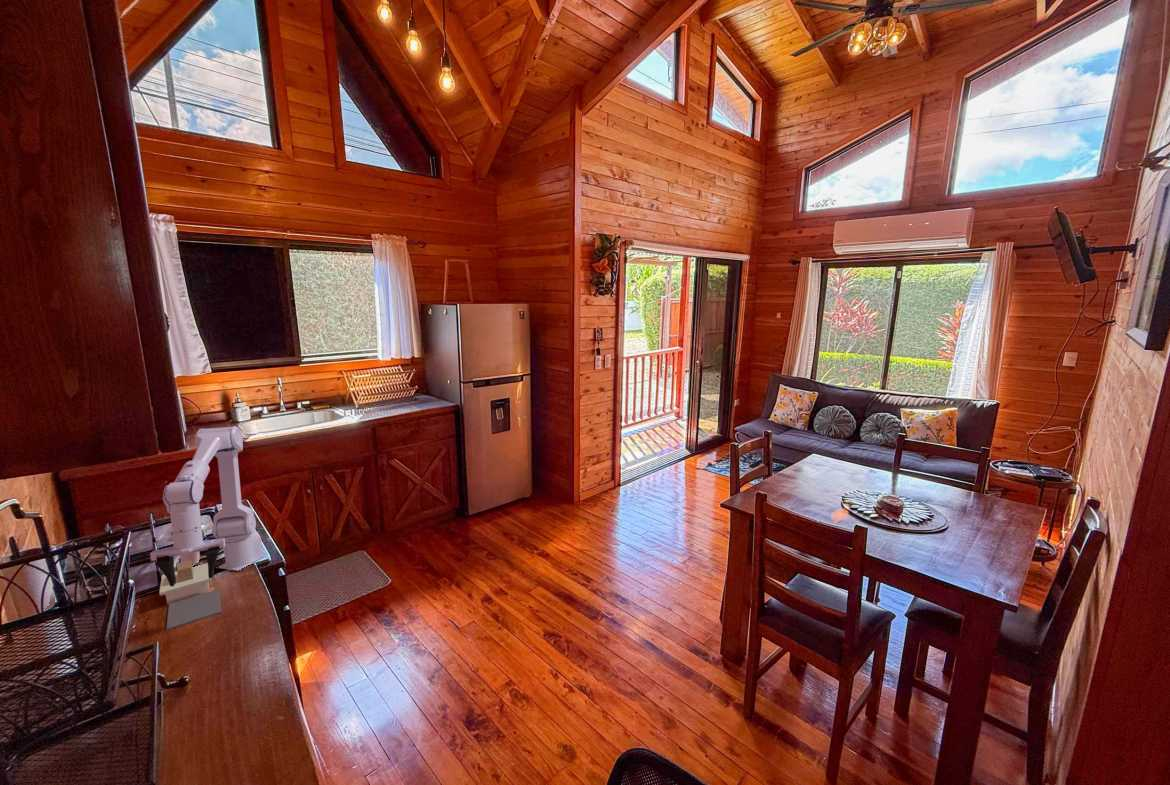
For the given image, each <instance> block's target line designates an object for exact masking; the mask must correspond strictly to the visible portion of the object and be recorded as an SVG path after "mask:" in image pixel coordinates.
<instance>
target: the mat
mask: <svg viewBox="0 0 1170 785" xmlns="http://www.w3.org/2000/svg"><path fill="white" fill-rule="evenodd" d="M167 610H168V611H167V619H166V620H167V621H166V631H169V630H172V629H175V628H178V627H182V626H185V625H188V624H192V623H193V622H197V621H200V620H203V619H207V618H209V617H212V616H215V615H218V614H221V613H222V598H221V588H218V589H215V590H212V591H209V592H207V593H204V594H200V595H197V596H194V597H190V598H187V599H184V600H180V601H177V602H173V603H170V604H168V609H167Z"/></svg>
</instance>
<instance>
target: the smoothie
mask: <svg viewBox="0 0 1170 785" xmlns="http://www.w3.org/2000/svg"><path fill="white" fill-rule="evenodd" d="M178 556H179V558H180V561H181V562H180V563H182V562H185V561H189V560H192V566H194V565H195V564H196V563H198V562H199V560H200V551H198V552H193V553H188V554H182V555H178Z"/></svg>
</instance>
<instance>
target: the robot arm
mask: <svg viewBox="0 0 1170 785" xmlns="http://www.w3.org/2000/svg"><path fill="white" fill-rule="evenodd" d="M194 441H195V445H196V449H195V452H194V455H193V457H192V460H191V459H190V460H188V461H187V462H185V463H184V464H183V466H182V468H181V470H180V472H179V473H178V474H177V476H176V478H175V480H174V481H173V482H170V483H169V484H168V485H167V484H166V486H165V487H164V489H163V493H162V501H163V504H164V505H165V506H166V512H167V513H168V514H170V515H169V516H170V522H171V524H170V525H171V532H172V542H173V545H172V546H169V547H168V546H167V547H165V548H161V549H156V550H152V551H151V552H150V554H149V555H150V561H151V562H153V561H156V563H155V565H156V568H158V569H159V570H161V572H162V573H163V575H165V576H166V578H167V579H168V582H169V584H170V587H171V586H174V585H175V583H176V578H175V572H176V571H175V564H174V563H175V560H174V559H175V556H179V555H182V554H188V553H193V552H198V551H199V552H203V551H206V552H205V557H206V561H207V562H206V563H208V576H209V579H210V578H212V579H213V578H214V575H215V568H216V567H215V566H216V563H217V562H216V561H217V559H218V556H219V553H220V551H221V549H222V550H223V555H224V561H225V563H222V564H220V565H219V566H218V569H221V570H229V571H236V572H240V571H242V570H243V569H245V568H247V567H249V566H250V565H252V564H254V563H255V562H257V561H259V560H261V559H263V558H264V557H266V554H265V553H264V551H263V542H262V537H261V535H260V533H259V532H258V531H257V530H256V526H257V521H256V517H255V513H254V509H252V507H250V506H247V505H244V504H243V503H242V492H241V481H240V480H241V479H240V471H239V469H240V468H239V458H238V455H239V453H240V452H243V447H244V444H243V443H244V442H243V434H242V431H241V429H240V428H239V427H238V426H235V425H234V426H228V427H227V426H224V427H213V428H211V427H210V428H199V429H198V431H196V432H195V438H194ZM214 457H216V459H217V463H218V464H217V465H218V466H217V467H218V476H219V486H220V487H219V489H220V497H221V498H220V500H221V509H220V510H219V511H218V512H216V513H215V514H214V515H213V520H212V521H213V523H212V529H211V530H212V531H211V532H212V535H213V537H214V538H215V539H207V540H206V539H205V540H204V538H203V537H204V536H203V529H202V528H203V527H202V518H201V510H200V502H201V500H203V496H204V489H205V485H204V483H205V481H206V479H207V477H208V475H209V473H210V470H211V469H210V466H209V464H210V462H211V461H212V460H213V458H214ZM248 565H249V566H248ZM246 566H247V567H246ZM244 567H245V568H244ZM242 568H243V569H242ZM241 569H242V570H241ZM239 570H240V571H239Z"/></svg>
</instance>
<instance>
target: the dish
mask: <svg viewBox="0 0 1170 785" xmlns="http://www.w3.org/2000/svg"><path fill="white" fill-rule="evenodd" d="M208 592H210V582H206V583H203V584H199V585H196V586H192V587H189V588H185V589H182V590H178V591H175V592H171V593H168V594H164V596H165V598H166V604H167V605H169V604H171V603H174V602H177V601H181V600H184V599H188V598H191V597H194V596H198V595H201V594H204V593H208Z"/></svg>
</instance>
